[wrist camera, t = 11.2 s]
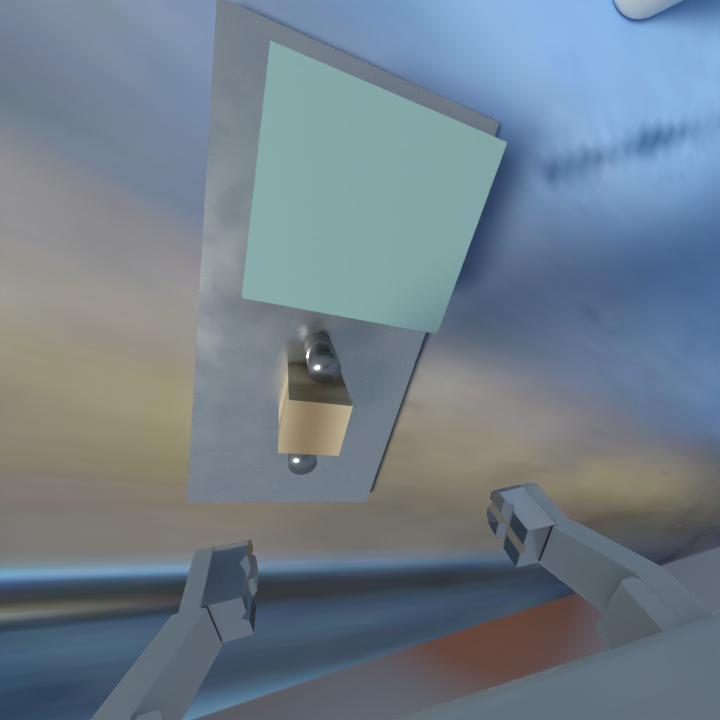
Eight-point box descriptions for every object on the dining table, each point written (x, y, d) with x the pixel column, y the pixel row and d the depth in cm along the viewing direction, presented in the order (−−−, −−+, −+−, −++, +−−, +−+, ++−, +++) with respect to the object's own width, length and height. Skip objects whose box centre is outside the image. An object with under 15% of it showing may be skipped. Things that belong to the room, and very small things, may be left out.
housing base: (490, 126, 20) (548, 103, 16) (363, 494, 32) (376, 539, 28) (220, 7, 15) (195, -73, 11) (190, 492, 27) (172, 547, 23)
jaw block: (340, 370, 24) (353, 406, 20) (328, 413, 26) (338, 456, 21) (287, 363, 23) (288, 399, 19) (278, 408, 24) (278, 453, 20)
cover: (442, 161, 19) (507, 142, 14) (399, 303, 22) (437, 334, 17) (274, 97, 16) (270, 40, 11) (253, 272, 20) (241, 297, 14)
